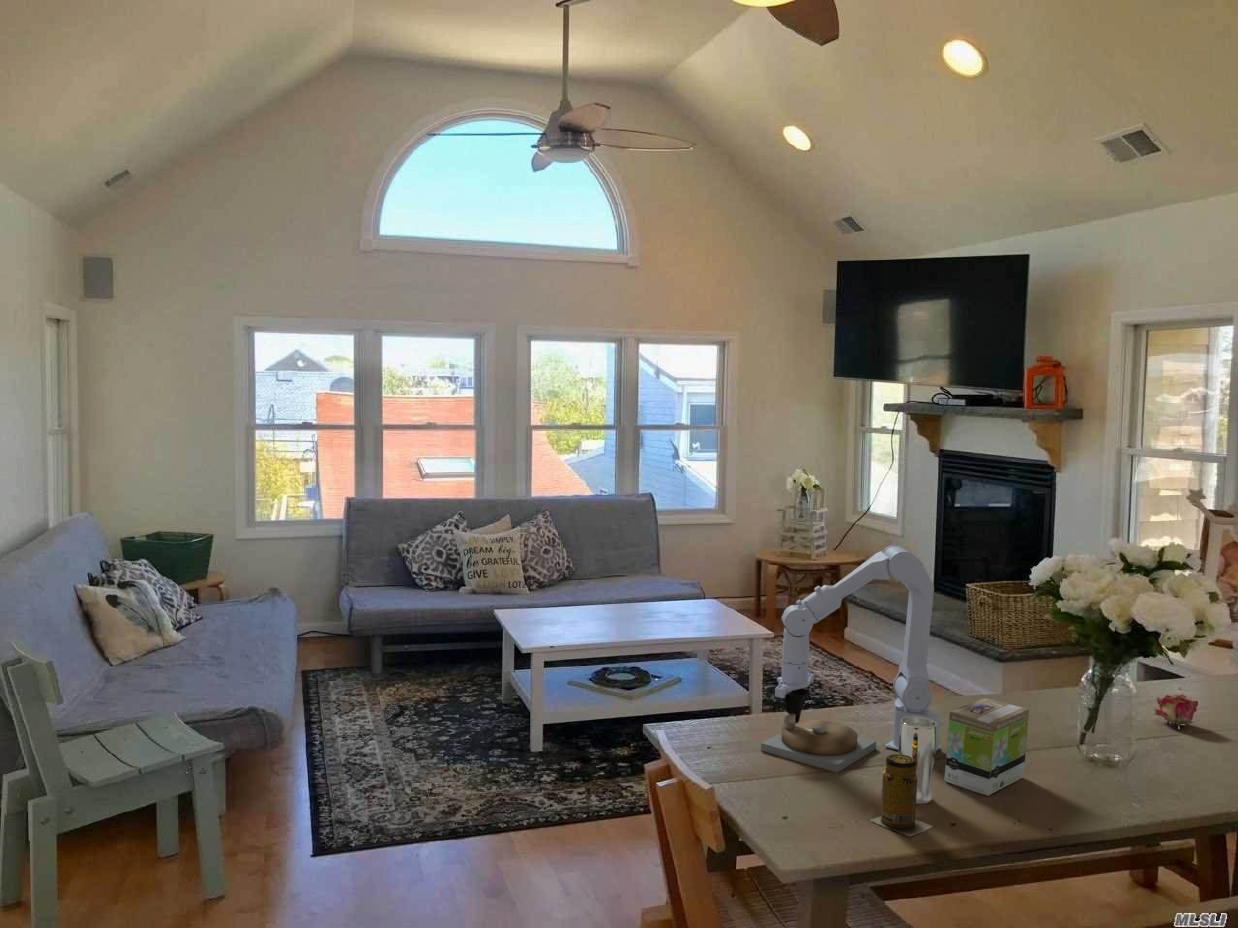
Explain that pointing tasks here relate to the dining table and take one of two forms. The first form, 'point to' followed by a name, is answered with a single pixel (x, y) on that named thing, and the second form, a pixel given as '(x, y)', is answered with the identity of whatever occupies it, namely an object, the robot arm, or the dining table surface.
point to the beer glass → (919, 751)
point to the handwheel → (818, 736)
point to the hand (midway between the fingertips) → (793, 721)
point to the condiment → (900, 796)
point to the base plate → (821, 761)
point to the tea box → (986, 745)
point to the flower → (1176, 709)
